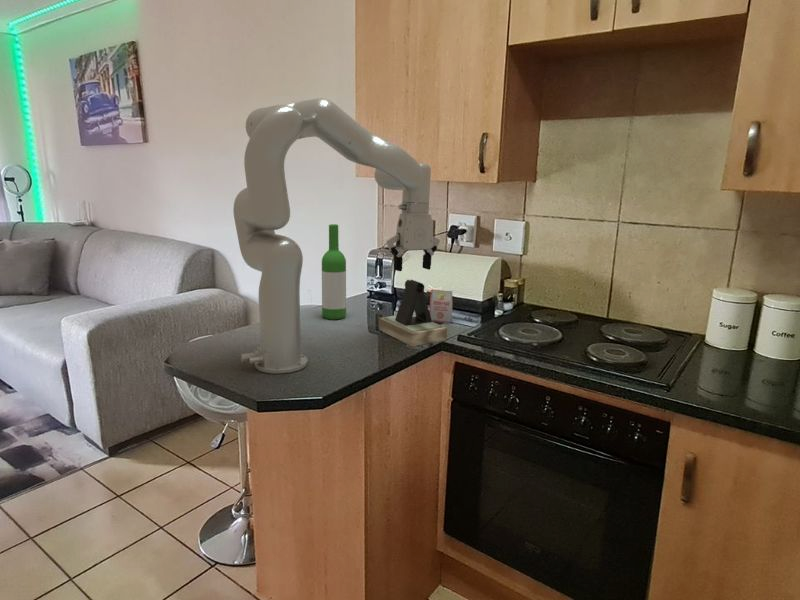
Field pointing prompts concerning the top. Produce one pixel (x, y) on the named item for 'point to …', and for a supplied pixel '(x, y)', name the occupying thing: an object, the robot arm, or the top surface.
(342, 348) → the top surface
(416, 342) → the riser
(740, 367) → the top surface
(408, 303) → the dark brown arched piece
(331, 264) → the wine bottle
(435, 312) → the small printed carton
